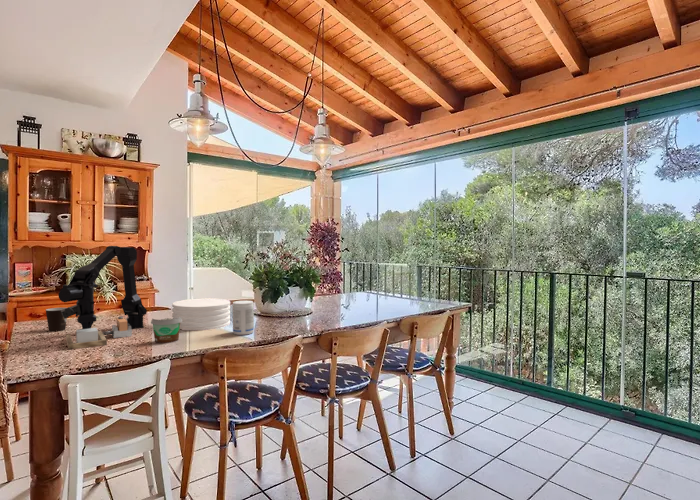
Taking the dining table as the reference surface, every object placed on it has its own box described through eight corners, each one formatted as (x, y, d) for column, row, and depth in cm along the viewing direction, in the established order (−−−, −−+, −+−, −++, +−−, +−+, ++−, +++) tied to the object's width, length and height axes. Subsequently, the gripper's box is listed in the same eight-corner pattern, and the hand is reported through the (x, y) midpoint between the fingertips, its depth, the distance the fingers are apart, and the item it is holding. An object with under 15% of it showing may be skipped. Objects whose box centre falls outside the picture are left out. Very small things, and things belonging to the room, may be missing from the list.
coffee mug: (56, 332, 191) (56, 311, 190) (41, 331, 192) (40, 310, 192) (78, 327, 202) (77, 307, 202) (63, 326, 204) (62, 306, 203)
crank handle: (123, 326, 191) (123, 315, 191) (127, 330, 184) (127, 319, 184) (116, 327, 189) (116, 316, 189) (119, 331, 182) (119, 319, 182)
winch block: (129, 332, 192) (129, 323, 192) (131, 335, 186) (131, 326, 186) (101, 336, 185) (101, 326, 185) (103, 339, 180) (103, 328, 180)
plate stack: (241, 323, 218) (241, 301, 217) (196, 333, 194) (196, 308, 194) (206, 317, 233) (206, 296, 232) (160, 325, 209) (160, 303, 209)
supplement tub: (252, 330, 201) (252, 299, 201) (254, 334, 192) (255, 302, 192) (231, 331, 198) (231, 300, 197) (233, 336, 189) (233, 303, 188)
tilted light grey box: (96, 341, 175) (96, 327, 175) (98, 345, 170) (98, 330, 170) (76, 344, 171) (75, 329, 171) (77, 347, 165) (77, 332, 165)
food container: (151, 345, 171) (151, 321, 171) (151, 341, 177) (151, 318, 176) (183, 342, 177) (183, 318, 177) (182, 338, 182) (182, 316, 182)
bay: (101, 335, 186) (101, 331, 186) (106, 344, 170) (106, 340, 170) (66, 339, 179) (66, 334, 179) (68, 349, 163) (68, 344, 163)
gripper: (61, 297, 177) (61, 333, 177) (63, 303, 162) (63, 343, 162) (92, 295, 184) (92, 330, 184) (96, 301, 169) (96, 339, 169)
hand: (85, 335), depth 175 cm, fingers closed
